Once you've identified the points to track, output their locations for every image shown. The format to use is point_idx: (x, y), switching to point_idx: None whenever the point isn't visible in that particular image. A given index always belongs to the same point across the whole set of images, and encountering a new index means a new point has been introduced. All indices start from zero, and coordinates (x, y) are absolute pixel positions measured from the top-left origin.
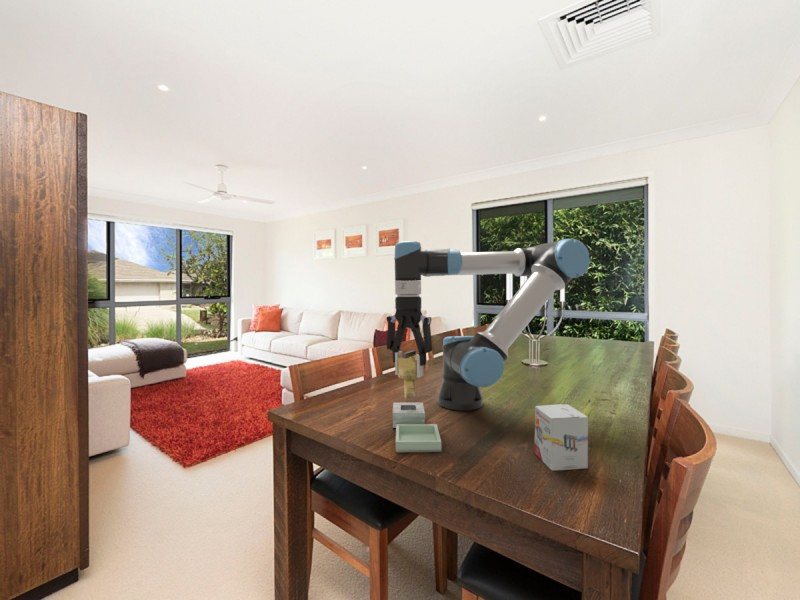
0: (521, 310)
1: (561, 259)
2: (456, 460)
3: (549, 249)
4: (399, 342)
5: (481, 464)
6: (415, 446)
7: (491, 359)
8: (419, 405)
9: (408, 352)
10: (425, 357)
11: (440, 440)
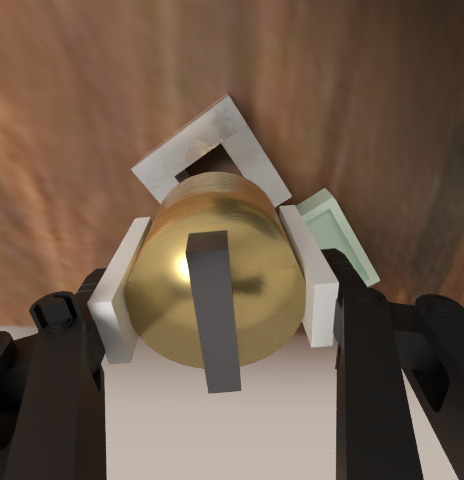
0: None
1: None
2: (408, 279)
3: None
4: (94, 418)
5: (459, 267)
6: None
7: None
8: (236, 137)
9: (224, 345)
10: (360, 283)
11: (376, 276)
